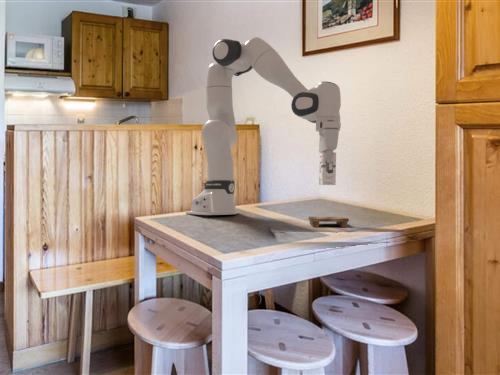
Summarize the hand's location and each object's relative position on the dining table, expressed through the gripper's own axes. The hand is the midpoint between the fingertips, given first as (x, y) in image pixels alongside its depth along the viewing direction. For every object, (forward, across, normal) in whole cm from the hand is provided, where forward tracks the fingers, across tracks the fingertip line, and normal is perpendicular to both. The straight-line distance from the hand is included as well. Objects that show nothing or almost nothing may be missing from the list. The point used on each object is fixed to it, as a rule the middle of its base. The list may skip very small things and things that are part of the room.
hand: (326, 163), depth 164 cm
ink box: (+8, 0, 0) cm, 8 cm away
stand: (+23, 0, +1) cm, 23 cm away
